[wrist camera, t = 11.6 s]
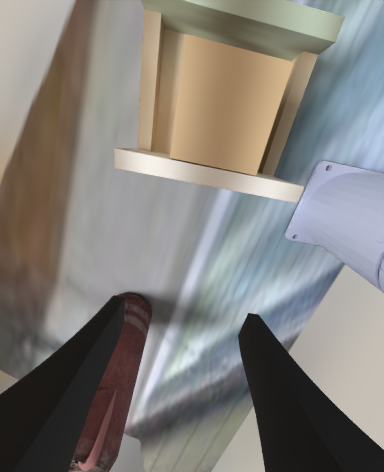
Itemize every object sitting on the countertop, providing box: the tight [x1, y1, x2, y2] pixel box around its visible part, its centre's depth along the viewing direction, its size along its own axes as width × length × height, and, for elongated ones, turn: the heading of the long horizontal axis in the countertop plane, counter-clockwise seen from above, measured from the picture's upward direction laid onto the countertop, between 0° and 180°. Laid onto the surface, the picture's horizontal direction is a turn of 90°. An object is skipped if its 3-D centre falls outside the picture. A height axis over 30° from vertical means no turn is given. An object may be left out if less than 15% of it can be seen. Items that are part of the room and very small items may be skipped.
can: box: [68, 293, 152, 472], centre depth 18 cm, size 6×6×14 cm
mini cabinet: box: [170, 34, 294, 176], centre depth 12 cm, size 5×6×6 cm
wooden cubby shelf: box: [115, 0, 345, 203], centre depth 12 cm, size 11×10×7 cm
